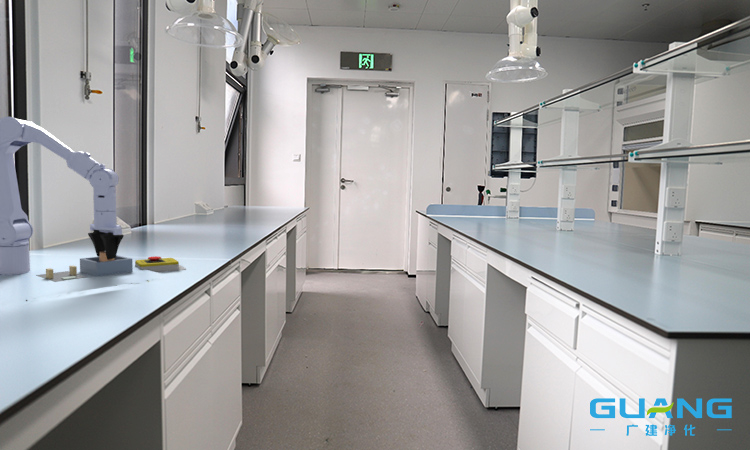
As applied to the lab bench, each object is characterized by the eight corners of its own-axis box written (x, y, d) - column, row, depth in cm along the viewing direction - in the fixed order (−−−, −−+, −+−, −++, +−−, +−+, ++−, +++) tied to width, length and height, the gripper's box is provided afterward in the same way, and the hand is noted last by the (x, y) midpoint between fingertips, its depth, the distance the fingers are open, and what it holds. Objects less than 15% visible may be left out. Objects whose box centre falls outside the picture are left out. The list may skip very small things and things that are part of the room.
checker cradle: (35, 279, 130) (35, 266, 130) (67, 275, 137) (67, 262, 136) (55, 286, 123) (54, 272, 123) (87, 281, 130) (87, 268, 130)
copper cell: (95, 271, 137) (97, 250, 137) (110, 270, 141) (111, 249, 140) (102, 274, 135) (103, 252, 134) (116, 273, 138) (118, 251, 138)
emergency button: (129, 256, 148) (179, 253, 157) (129, 270, 149) (179, 266, 158) (134, 261, 141) (186, 257, 150) (134, 275, 141) (186, 271, 150)
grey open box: (80, 275, 137) (79, 258, 136) (115, 270, 145) (114, 254, 144) (97, 280, 131) (96, 263, 131) (132, 275, 139) (132, 258, 139)
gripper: (132, 211, 135) (133, 258, 137) (106, 208, 143) (107, 252, 145) (106, 212, 130) (108, 261, 131) (81, 209, 138) (83, 255, 139)
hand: (106, 257), depth 137 cm, fingers open, 5 cm apart
